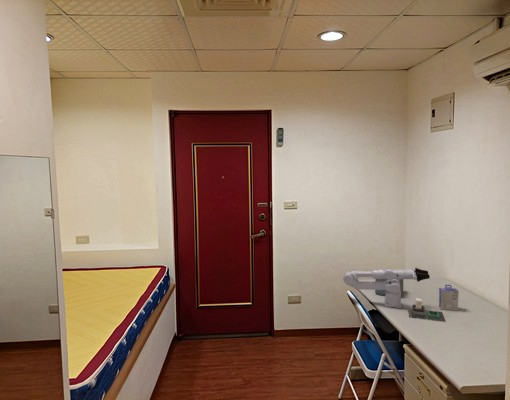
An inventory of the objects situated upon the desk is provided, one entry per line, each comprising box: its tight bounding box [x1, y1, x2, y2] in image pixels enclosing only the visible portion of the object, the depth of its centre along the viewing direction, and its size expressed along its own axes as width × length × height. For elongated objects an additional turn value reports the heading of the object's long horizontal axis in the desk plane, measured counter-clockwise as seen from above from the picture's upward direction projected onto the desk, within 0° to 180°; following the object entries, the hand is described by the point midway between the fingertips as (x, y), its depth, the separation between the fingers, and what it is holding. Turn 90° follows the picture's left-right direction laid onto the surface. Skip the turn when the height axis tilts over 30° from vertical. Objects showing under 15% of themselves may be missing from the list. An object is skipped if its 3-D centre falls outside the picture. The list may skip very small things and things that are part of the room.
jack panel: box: [407, 304, 446, 323], centre depth 211 cm, size 19×13×4 cm
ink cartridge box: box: [438, 284, 459, 311], centre depth 220 cm, size 10×6×14 cm, turn 79°
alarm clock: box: [374, 279, 405, 296], centre depth 247 cm, size 16×16×16 cm
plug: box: [415, 297, 423, 309], centre depth 212 cm, size 3×4×6 cm
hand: (428, 274), depth 218 cm, fingers open, 7 cm apart
